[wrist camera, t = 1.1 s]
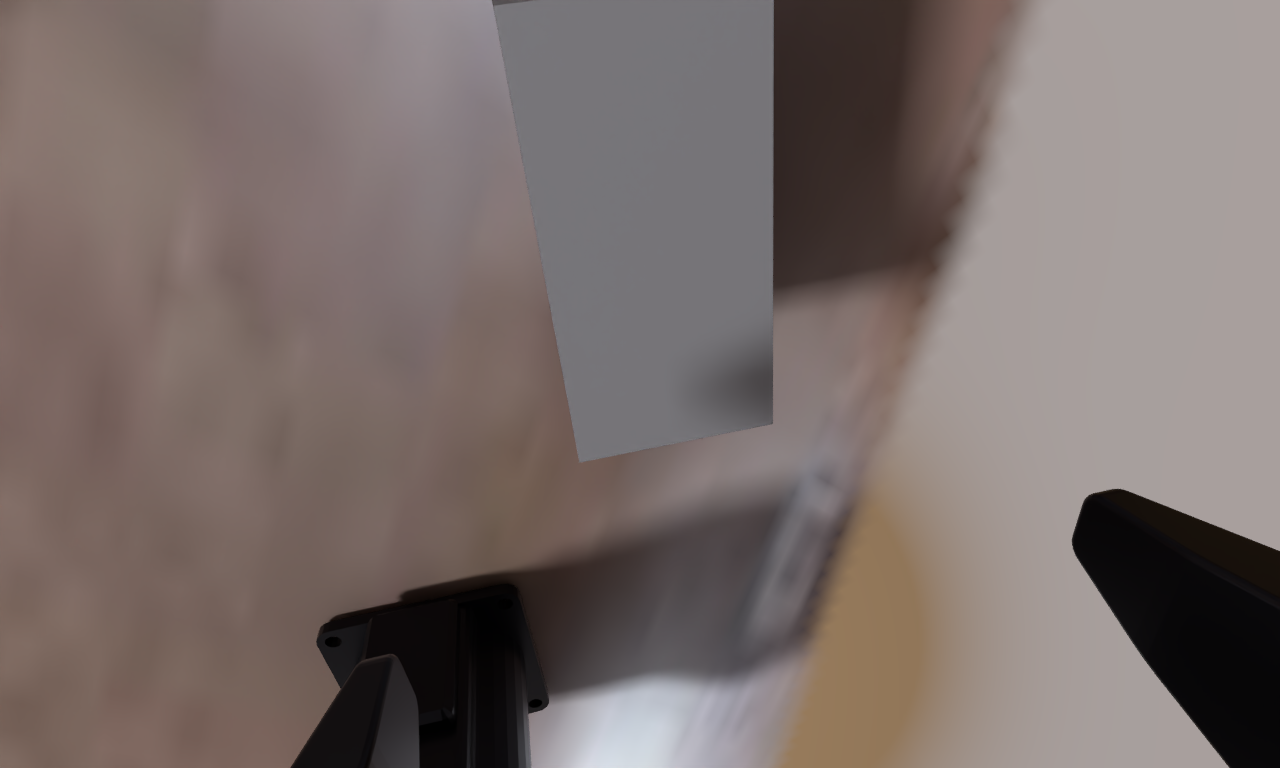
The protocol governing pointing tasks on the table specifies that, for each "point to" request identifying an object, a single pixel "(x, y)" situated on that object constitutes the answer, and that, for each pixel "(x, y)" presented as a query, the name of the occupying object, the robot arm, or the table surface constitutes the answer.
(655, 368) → the plug
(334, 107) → the table surface
